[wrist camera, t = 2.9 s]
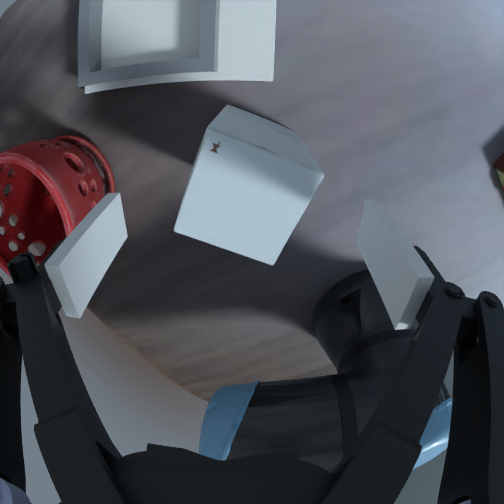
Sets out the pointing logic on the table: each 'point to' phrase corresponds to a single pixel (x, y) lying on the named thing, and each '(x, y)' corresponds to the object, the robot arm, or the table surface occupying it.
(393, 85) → the table surface
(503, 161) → the hardcover book
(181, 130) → the table surface
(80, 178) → the plant pot
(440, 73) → the table surface
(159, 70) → the plate
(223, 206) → the supplement box
